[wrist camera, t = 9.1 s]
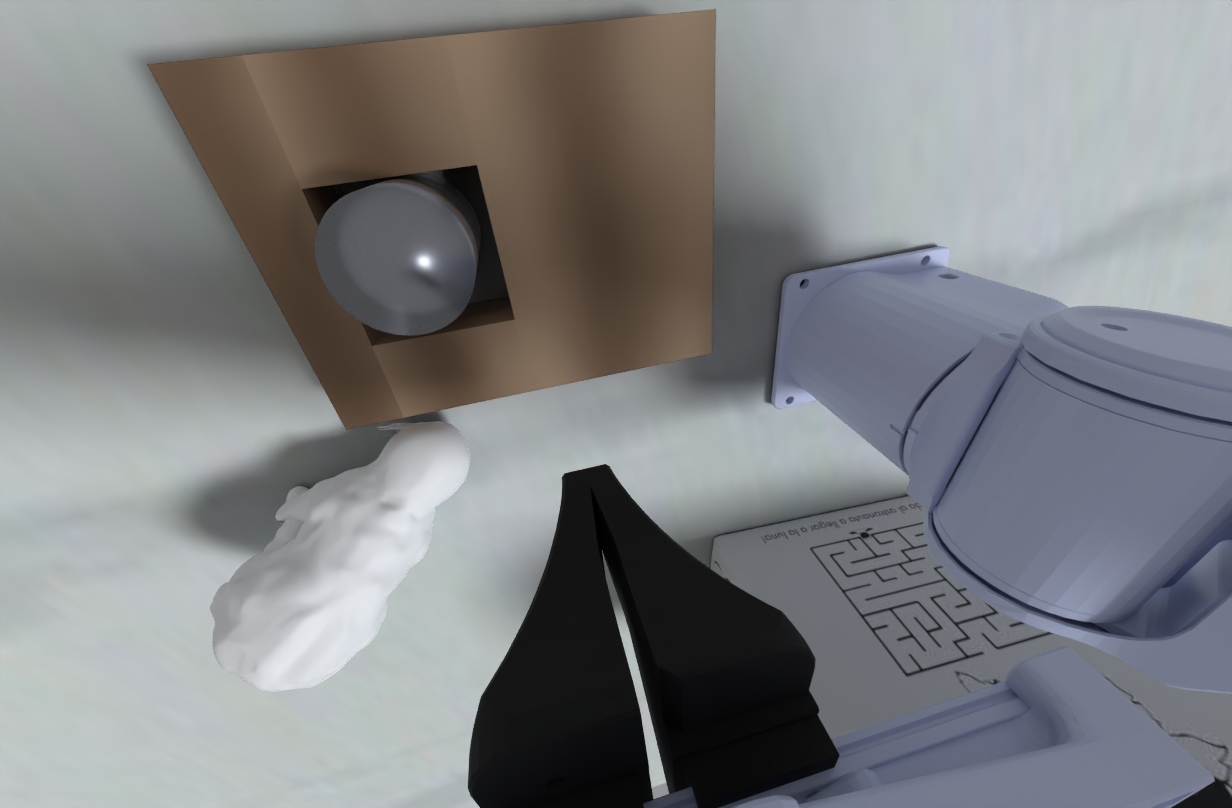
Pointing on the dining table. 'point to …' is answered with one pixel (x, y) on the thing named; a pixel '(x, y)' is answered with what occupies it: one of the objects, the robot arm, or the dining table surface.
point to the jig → (513, 188)
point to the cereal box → (927, 630)
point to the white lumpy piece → (336, 562)
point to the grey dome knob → (400, 253)
